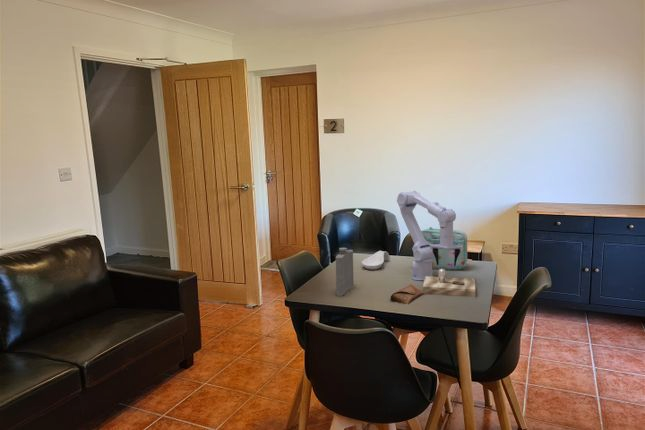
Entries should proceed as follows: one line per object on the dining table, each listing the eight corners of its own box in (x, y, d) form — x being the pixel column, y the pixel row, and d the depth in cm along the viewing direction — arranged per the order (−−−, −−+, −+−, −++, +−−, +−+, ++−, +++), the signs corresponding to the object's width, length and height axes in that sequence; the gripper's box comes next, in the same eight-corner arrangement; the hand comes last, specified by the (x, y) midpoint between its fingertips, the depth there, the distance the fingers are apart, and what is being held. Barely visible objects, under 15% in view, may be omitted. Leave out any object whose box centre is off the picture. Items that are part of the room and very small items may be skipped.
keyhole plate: (422, 293, 201) (422, 286, 200) (425, 282, 216) (425, 275, 215) (475, 296, 194) (475, 289, 194) (474, 285, 210) (474, 278, 209)
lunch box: (413, 268, 242) (413, 228, 238) (417, 263, 251) (417, 225, 248) (465, 272, 231) (466, 230, 228) (467, 266, 241) (468, 227, 237)
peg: (437, 290, 205) (437, 270, 203) (437, 287, 209) (437, 267, 207) (446, 290, 204) (446, 270, 202) (446, 287, 207) (446, 268, 206)
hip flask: (342, 296, 200) (341, 252, 197) (333, 295, 202) (332, 251, 199) (354, 286, 214) (353, 244, 211) (346, 285, 216) (345, 244, 213)
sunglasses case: (408, 304, 187) (400, 290, 188) (395, 310, 191) (388, 295, 192) (426, 292, 201) (419, 279, 203) (414, 298, 205) (407, 284, 207)
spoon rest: (377, 272, 236) (377, 259, 235) (357, 270, 242) (357, 256, 241) (395, 262, 256) (395, 249, 255) (376, 259, 262) (376, 247, 261)
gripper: (429, 237, 207) (429, 266, 209) (462, 238, 202) (462, 267, 204) (430, 234, 213) (430, 262, 215) (463, 235, 209) (462, 263, 211)
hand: (446, 264), depth 210 cm, fingers open, 7 cm apart
